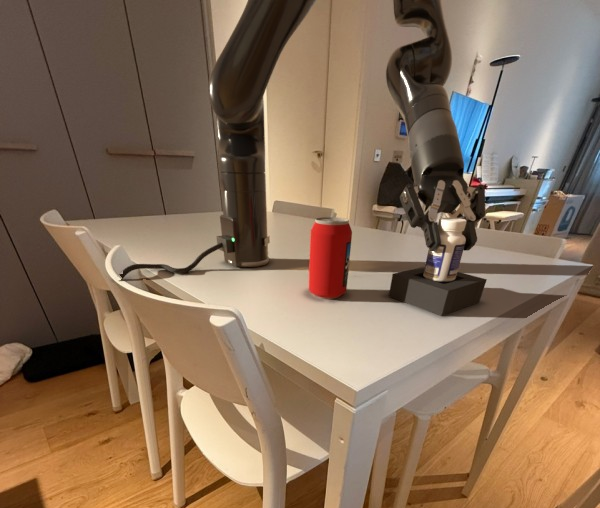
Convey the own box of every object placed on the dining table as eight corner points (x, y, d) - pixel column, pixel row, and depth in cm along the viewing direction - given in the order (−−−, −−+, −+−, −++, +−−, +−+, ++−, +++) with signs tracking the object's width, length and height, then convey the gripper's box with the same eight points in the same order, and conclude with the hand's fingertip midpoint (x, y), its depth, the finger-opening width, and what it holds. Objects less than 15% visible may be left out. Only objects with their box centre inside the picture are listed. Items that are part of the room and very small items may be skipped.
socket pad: (441, 316, 53) (448, 290, 51) (388, 296, 60) (392, 273, 58) (479, 302, 58) (487, 279, 56) (426, 286, 65) (431, 264, 63)
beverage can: (353, 296, 60) (362, 221, 53) (322, 303, 57) (327, 224, 50) (331, 286, 64) (336, 215, 57) (301, 291, 61) (303, 217, 54)
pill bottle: (450, 274, 59) (466, 217, 54) (459, 283, 55) (476, 222, 50) (419, 272, 59) (432, 216, 54) (425, 281, 55) (439, 221, 50)
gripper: (403, 130, 50) (422, 233, 48) (489, 133, 53) (511, 232, 50) (384, 171, 58) (400, 262, 55) (460, 172, 60) (478, 260, 57)
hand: (452, 247), depth 53 cm, fingers closed on pill bottle, 5 cm apart
